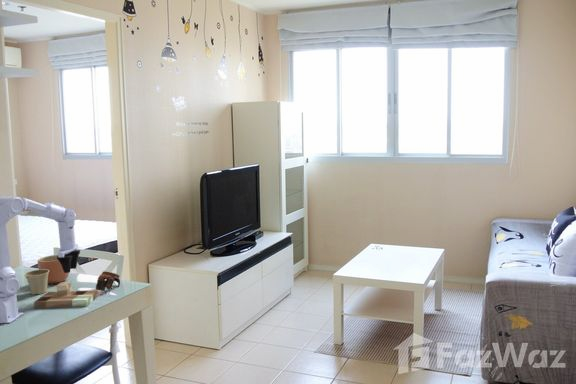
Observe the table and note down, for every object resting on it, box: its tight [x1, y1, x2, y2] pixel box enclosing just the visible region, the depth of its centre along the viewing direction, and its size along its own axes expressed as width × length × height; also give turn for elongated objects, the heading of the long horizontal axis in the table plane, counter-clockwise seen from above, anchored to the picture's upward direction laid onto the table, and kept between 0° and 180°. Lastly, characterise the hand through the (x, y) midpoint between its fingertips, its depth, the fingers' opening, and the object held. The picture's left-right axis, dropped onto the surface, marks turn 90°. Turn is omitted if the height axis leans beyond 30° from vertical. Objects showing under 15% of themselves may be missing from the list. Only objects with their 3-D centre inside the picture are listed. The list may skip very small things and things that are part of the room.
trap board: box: [33, 289, 100, 309], centre depth 206 cm, size 12×20×2 cm, turn 89°
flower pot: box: [24, 269, 49, 295], centre depth 220 cm, size 9×9×9 cm
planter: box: [37, 254, 70, 285], centre depth 235 cm, size 12×12×11 cm
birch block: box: [56, 281, 73, 295], centre depth 209 cm, size 4×4×4 cm
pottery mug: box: [95, 271, 121, 292], centre depth 222 cm, size 12×10×8 cm
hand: (70, 270), depth 215 cm, fingers open, 5 cm apart
